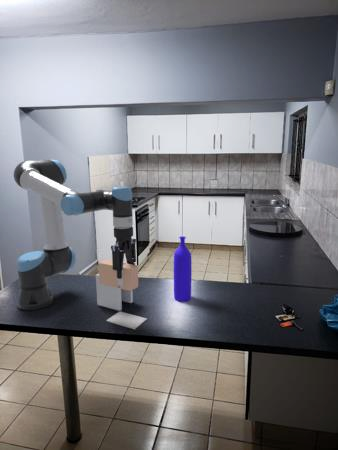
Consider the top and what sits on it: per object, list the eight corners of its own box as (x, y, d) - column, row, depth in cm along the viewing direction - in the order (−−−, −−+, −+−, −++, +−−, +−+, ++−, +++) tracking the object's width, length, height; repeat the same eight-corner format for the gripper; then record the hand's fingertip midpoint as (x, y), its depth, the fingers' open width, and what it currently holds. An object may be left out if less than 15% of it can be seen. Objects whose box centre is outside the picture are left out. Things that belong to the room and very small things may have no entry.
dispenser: (97, 304, 154) (95, 274, 151) (111, 296, 162) (109, 267, 159) (120, 311, 148) (119, 279, 145) (133, 302, 156) (132, 272, 153)
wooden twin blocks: (99, 283, 140) (98, 262, 138) (107, 279, 144) (106, 259, 142) (131, 291, 132) (130, 269, 130) (138, 286, 137) (137, 265, 135)
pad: (106, 321, 139) (106, 320, 139) (119, 312, 147) (119, 311, 147) (134, 329, 133) (134, 328, 132) (146, 319, 140) (146, 318, 140)
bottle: (176, 303, 155) (176, 240, 148) (171, 296, 163) (171, 235, 156) (193, 301, 157) (194, 238, 150) (188, 293, 165) (188, 234, 158)
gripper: (116, 232, 122) (119, 293, 127) (144, 223, 137) (145, 277, 142) (100, 230, 125) (103, 289, 130) (128, 221, 141) (130, 274, 146)
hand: (125, 282), depth 136 cm, fingers closed on wooden twin blocks, 5 cm apart
